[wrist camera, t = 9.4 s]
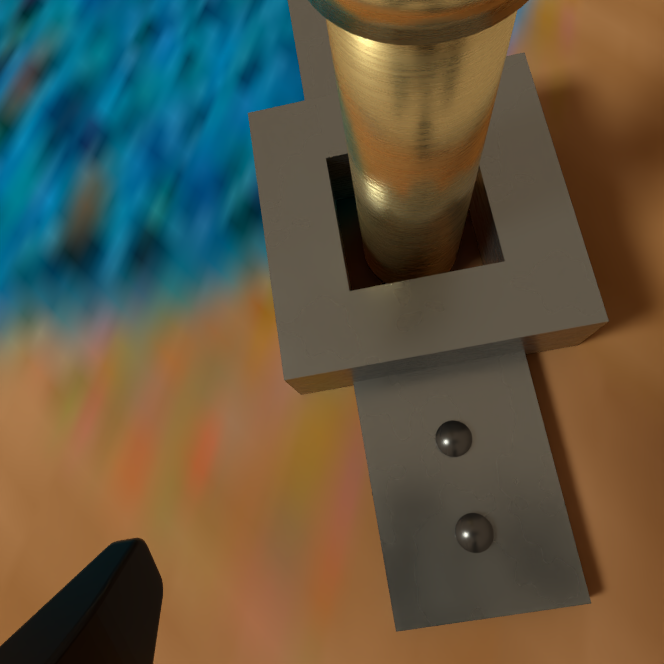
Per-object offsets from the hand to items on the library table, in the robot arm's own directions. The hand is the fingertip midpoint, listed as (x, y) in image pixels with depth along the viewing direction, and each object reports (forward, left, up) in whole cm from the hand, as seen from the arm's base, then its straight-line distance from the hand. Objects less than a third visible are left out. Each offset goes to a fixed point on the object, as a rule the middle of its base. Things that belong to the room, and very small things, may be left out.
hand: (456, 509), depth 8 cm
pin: (+5, -7, -11) cm, 15 cm away
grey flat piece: (+6, -7, -11) cm, 15 cm away
